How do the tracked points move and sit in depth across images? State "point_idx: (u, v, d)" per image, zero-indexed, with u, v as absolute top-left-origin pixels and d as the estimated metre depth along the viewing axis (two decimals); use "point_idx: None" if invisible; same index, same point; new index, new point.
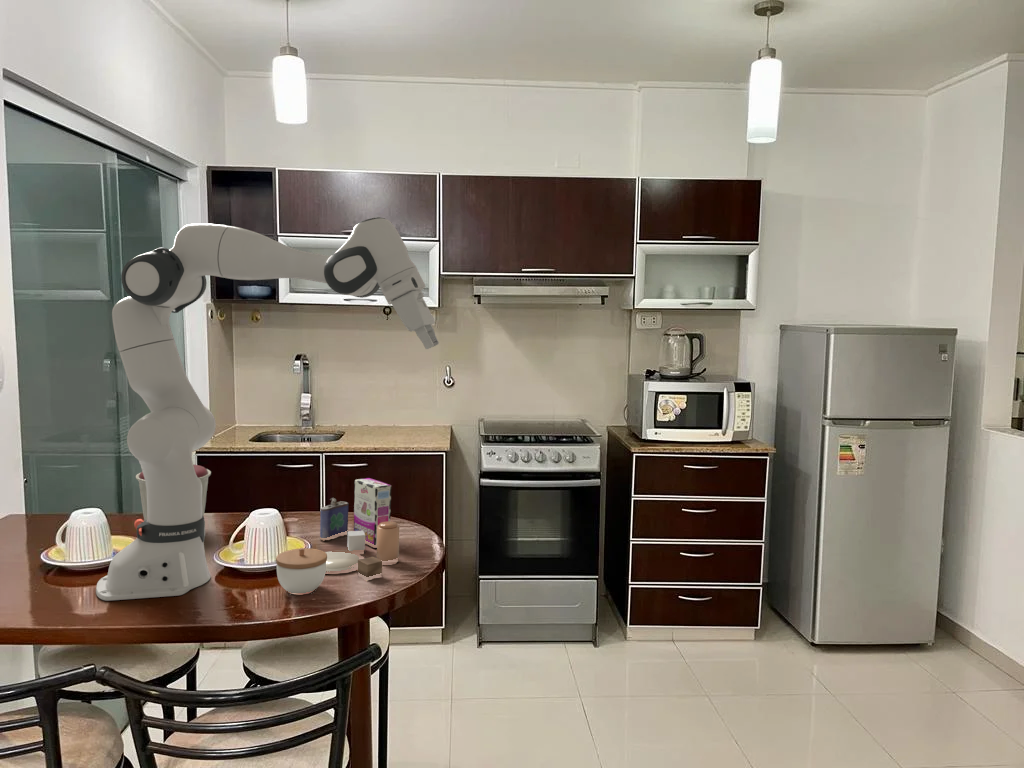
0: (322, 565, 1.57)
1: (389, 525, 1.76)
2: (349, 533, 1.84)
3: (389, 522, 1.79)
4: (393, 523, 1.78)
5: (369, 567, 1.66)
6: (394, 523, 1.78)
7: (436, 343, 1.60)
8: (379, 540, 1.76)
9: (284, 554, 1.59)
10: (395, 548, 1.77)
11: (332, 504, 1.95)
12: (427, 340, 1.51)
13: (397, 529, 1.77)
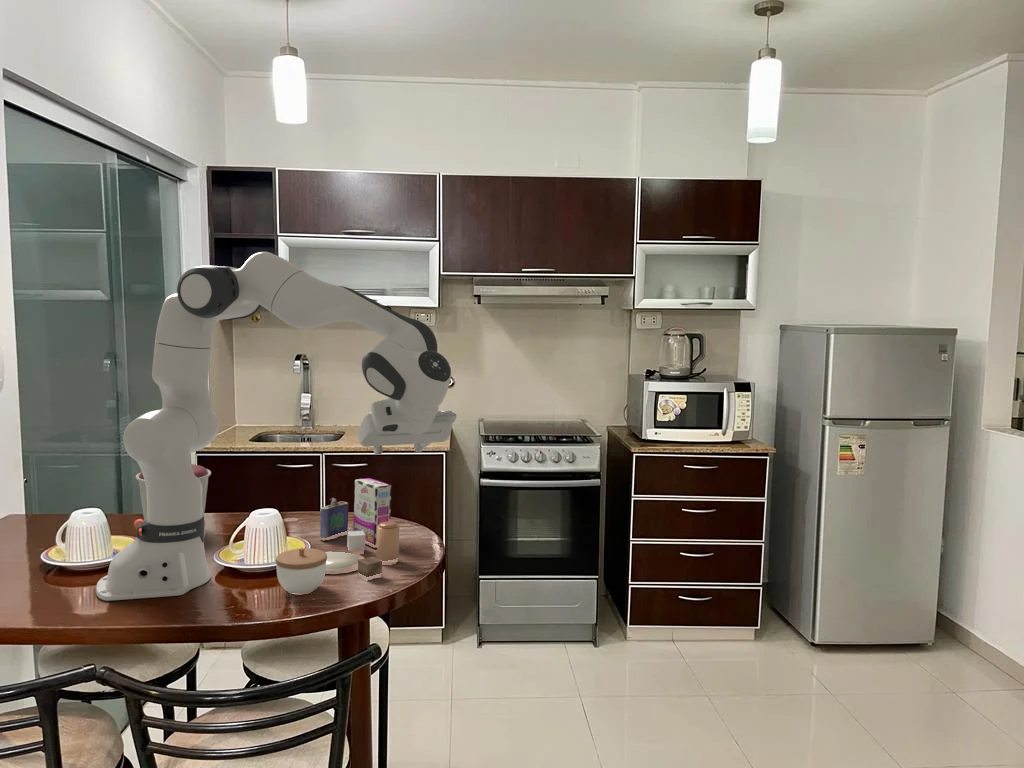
0: (322, 565, 1.57)
1: (389, 525, 1.76)
2: (349, 533, 1.84)
3: (389, 522, 1.79)
4: (393, 523, 1.78)
5: (369, 567, 1.65)
6: (394, 523, 1.78)
7: (415, 450, 1.64)
8: (379, 540, 1.76)
9: (283, 554, 1.59)
10: (395, 548, 1.77)
11: (332, 504, 1.95)
12: None
13: (397, 529, 1.77)
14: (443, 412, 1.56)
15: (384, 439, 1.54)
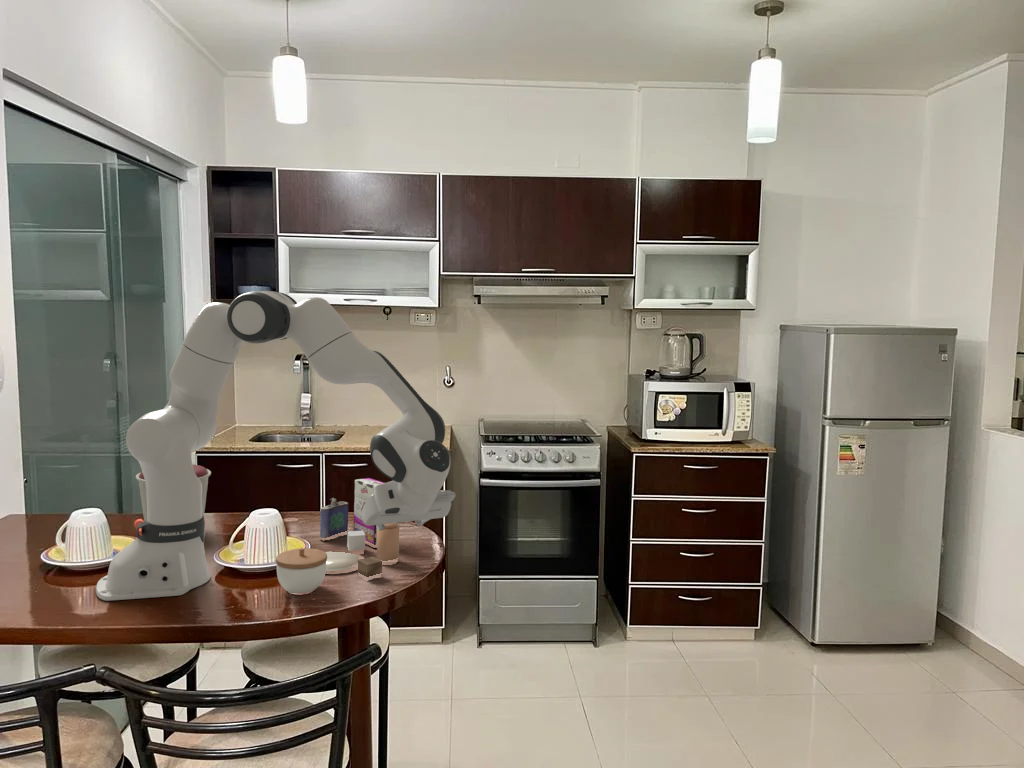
0: (322, 565, 1.57)
1: (389, 525, 1.76)
2: (349, 533, 1.84)
3: None
4: (393, 523, 1.78)
5: (369, 567, 1.65)
6: (394, 523, 1.78)
7: (416, 524, 1.72)
8: (379, 540, 1.76)
9: (284, 554, 1.59)
10: (395, 548, 1.77)
11: (332, 504, 1.95)
12: None
13: (397, 529, 1.77)
14: (443, 492, 1.64)
15: (386, 518, 1.62)
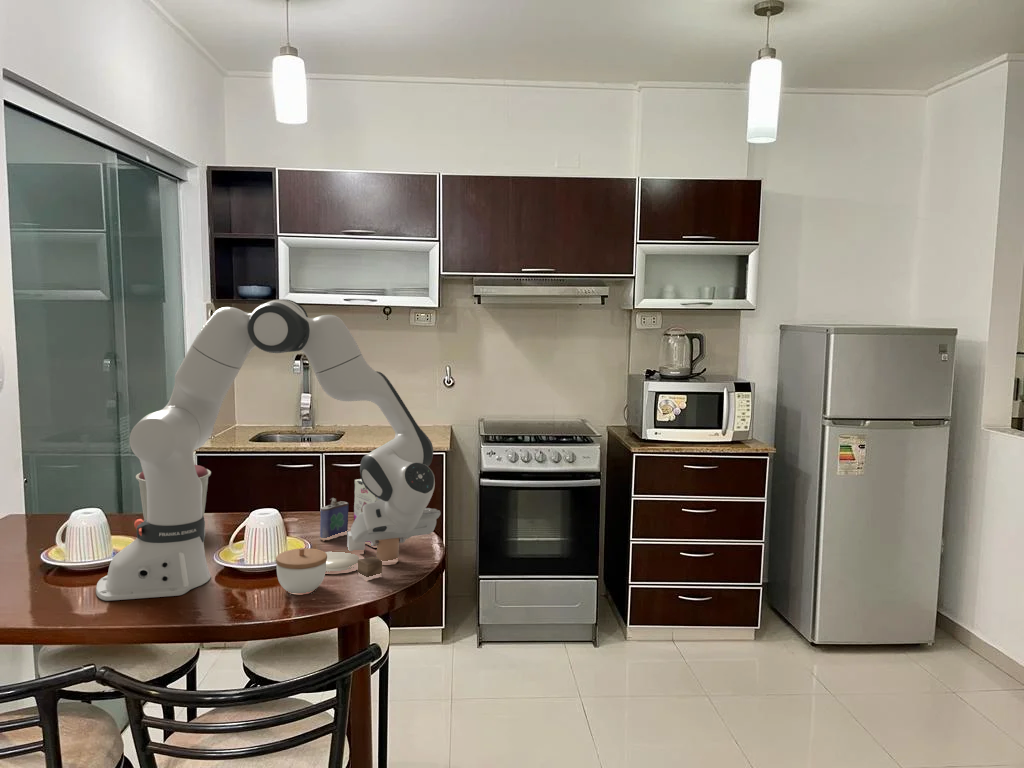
0: (322, 565, 1.57)
1: None
2: (349, 533, 1.84)
3: None
4: None
5: (369, 567, 1.66)
6: None
7: None
8: (379, 540, 1.76)
9: (284, 554, 1.59)
10: (395, 548, 1.77)
11: (332, 504, 1.95)
12: (372, 541, 1.75)
13: None
14: (428, 510, 1.73)
15: (374, 536, 1.70)
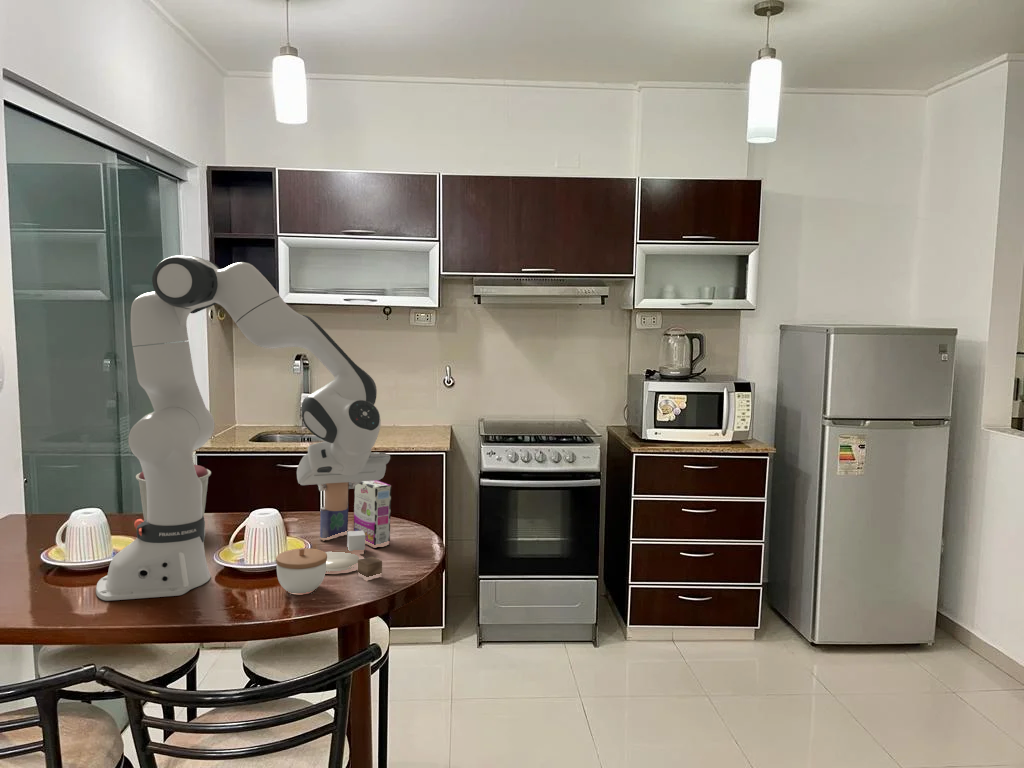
0: (322, 565, 1.57)
1: None
2: (349, 533, 1.84)
3: None
4: None
5: (369, 567, 1.66)
6: None
7: None
8: (327, 484, 1.71)
9: (284, 554, 1.59)
10: (343, 493, 1.72)
11: None
12: None
13: None
14: (377, 454, 1.68)
15: (321, 478, 1.66)
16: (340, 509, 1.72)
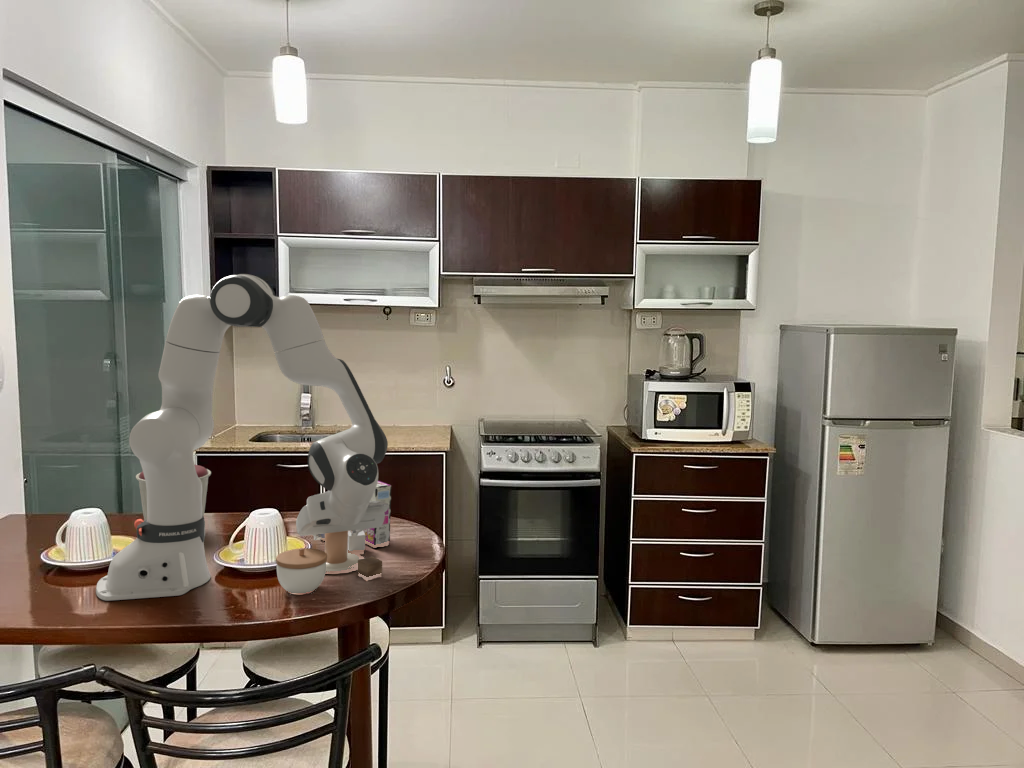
0: (322, 565, 1.57)
1: None
2: (349, 533, 1.84)
3: None
4: None
5: (369, 567, 1.65)
6: None
7: (351, 534, 1.77)
8: (327, 537, 1.73)
9: (284, 554, 1.59)
10: (343, 546, 1.73)
11: None
12: None
13: None
14: (375, 503, 1.69)
15: (320, 529, 1.67)
16: (340, 561, 1.73)
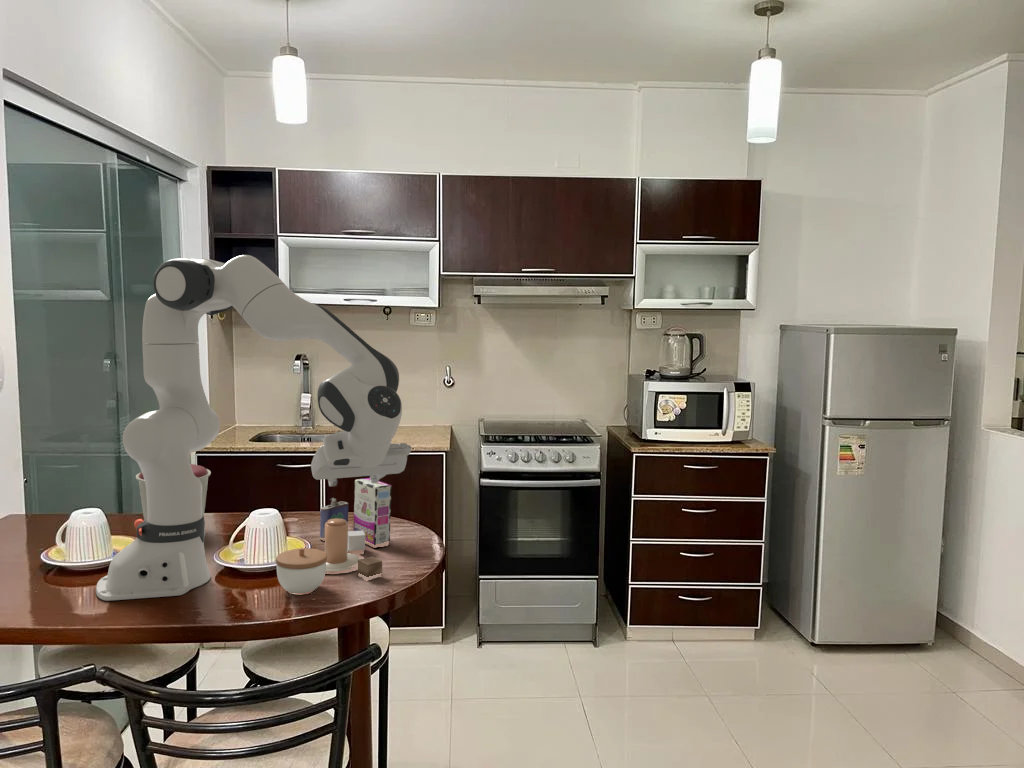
0: (322, 565, 1.57)
1: (337, 522, 1.73)
2: (349, 533, 1.84)
3: (338, 519, 1.76)
4: (342, 520, 1.75)
5: (369, 567, 1.65)
6: (342, 520, 1.75)
7: (371, 481, 1.63)
8: (327, 537, 1.73)
9: (284, 554, 1.59)
10: (343, 546, 1.73)
11: (332, 504, 1.95)
12: None
13: (345, 526, 1.73)
14: (397, 445, 1.56)
15: (337, 472, 1.53)
16: (340, 561, 1.73)
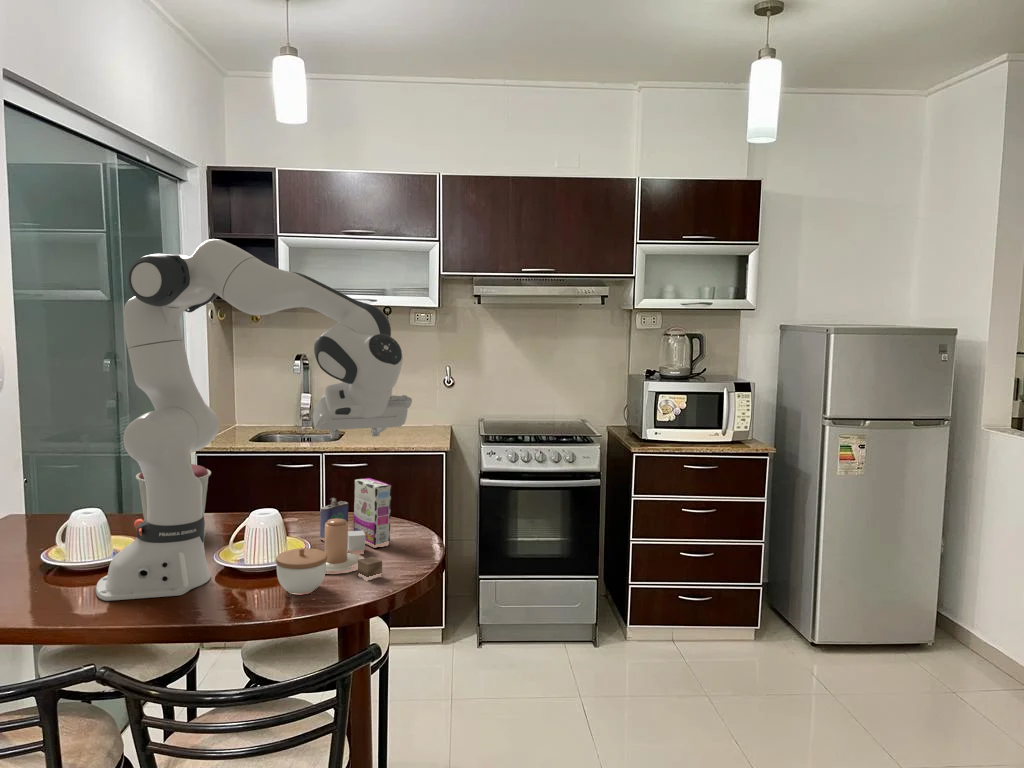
0: (322, 565, 1.57)
1: (337, 522, 1.73)
2: (349, 533, 1.84)
3: (338, 519, 1.76)
4: (342, 520, 1.75)
5: (369, 567, 1.66)
6: (343, 520, 1.75)
7: (372, 435, 1.65)
8: (327, 537, 1.73)
9: (284, 554, 1.59)
10: (343, 546, 1.73)
11: (332, 504, 1.95)
12: None
13: (345, 526, 1.73)
14: (398, 396, 1.58)
15: (339, 423, 1.55)
16: (340, 561, 1.73)
